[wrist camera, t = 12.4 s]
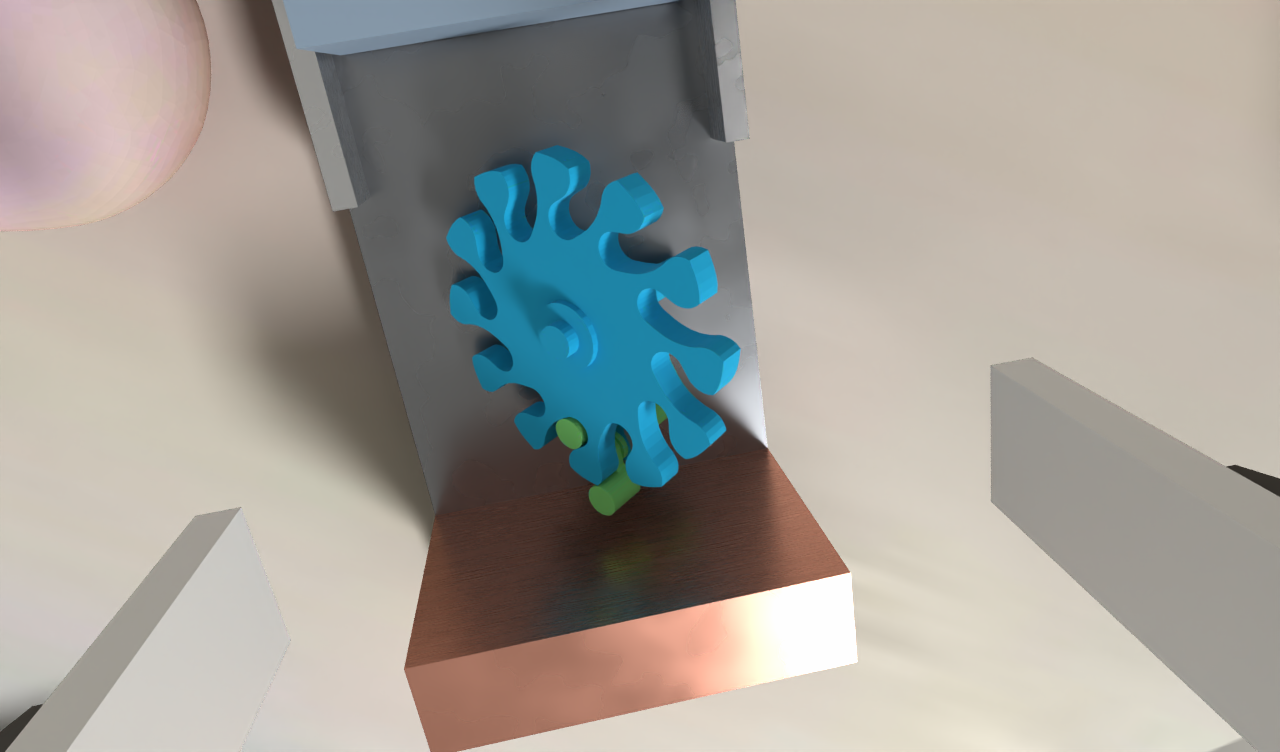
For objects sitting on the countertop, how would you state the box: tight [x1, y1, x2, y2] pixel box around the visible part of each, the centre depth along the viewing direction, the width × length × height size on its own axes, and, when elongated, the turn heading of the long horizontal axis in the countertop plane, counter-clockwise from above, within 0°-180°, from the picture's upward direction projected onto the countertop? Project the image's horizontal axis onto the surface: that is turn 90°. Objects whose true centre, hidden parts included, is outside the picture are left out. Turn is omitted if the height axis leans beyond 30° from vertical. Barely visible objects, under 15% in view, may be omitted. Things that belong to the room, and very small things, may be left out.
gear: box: [446, 145, 741, 516], centre depth 25 cm, size 11×6×10 cm
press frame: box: [272, 0, 857, 752], centre depth 23 cm, size 12×24×10 cm, turn 9°
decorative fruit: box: [0, 0, 211, 231], centre depth 20 cm, size 9×8×10 cm
